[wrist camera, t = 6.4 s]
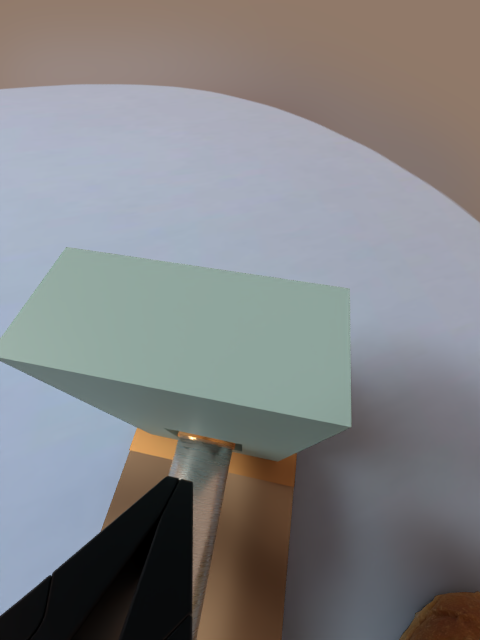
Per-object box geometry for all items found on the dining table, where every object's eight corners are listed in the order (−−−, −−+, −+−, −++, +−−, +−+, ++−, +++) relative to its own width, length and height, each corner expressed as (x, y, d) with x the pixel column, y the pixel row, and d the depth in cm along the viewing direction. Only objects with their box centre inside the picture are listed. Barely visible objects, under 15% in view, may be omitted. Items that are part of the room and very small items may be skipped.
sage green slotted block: (277, 461, 14) (351, 427, 5) (150, 434, 15) (-12, 355, 5) (284, 404, 16) (349, 288, 6) (168, 381, 16) (65, 247, 7)
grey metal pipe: (156, 894, 8) (74, 1291, 4) (81, 864, 9) (-64, 1211, 5) (252, 363, 17) (256, 327, 13) (214, 356, 18) (205, 319, 14)
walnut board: (251, 951, 8) (252, 1014, 7) (-4, 848, 9) (-33, 892, 8) (299, 377, 18) (303, 371, 17) (170, 353, 19) (166, 346, 18)
